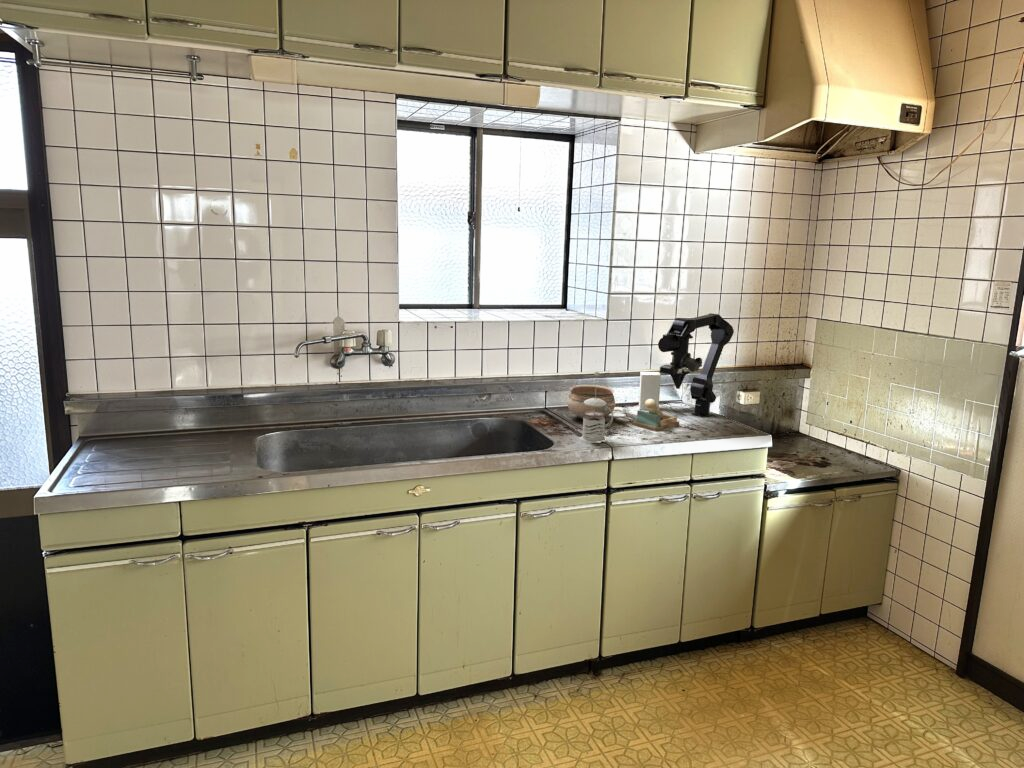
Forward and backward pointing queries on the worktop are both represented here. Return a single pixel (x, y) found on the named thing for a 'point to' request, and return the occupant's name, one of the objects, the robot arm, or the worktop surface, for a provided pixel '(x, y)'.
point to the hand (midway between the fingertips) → (677, 388)
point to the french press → (594, 434)
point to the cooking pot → (587, 392)
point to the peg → (653, 408)
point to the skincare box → (649, 388)
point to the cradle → (654, 421)
